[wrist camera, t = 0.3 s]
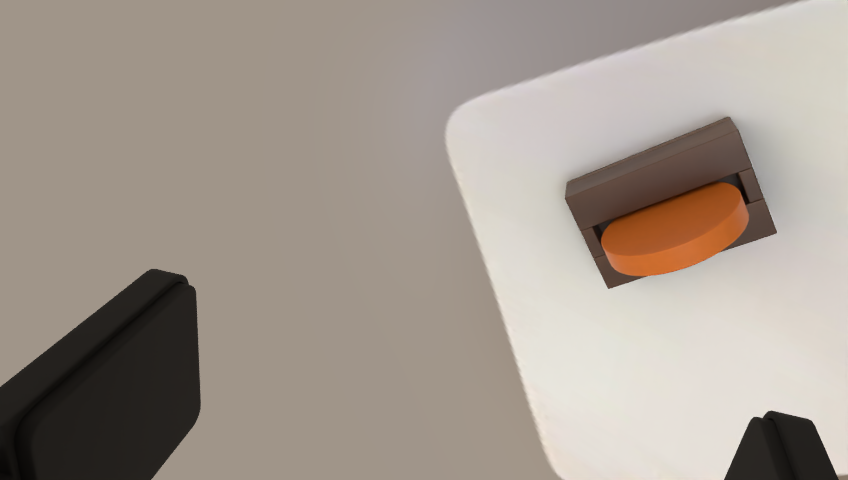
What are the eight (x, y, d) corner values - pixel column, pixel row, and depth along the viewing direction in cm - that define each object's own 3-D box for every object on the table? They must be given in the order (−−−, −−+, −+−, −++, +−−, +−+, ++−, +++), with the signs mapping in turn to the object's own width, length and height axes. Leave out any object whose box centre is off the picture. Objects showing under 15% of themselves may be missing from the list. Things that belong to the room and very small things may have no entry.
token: (600, 215, 38) (601, 272, 32) (726, 166, 35) (755, 219, 29) (608, 233, 38) (611, 292, 32) (734, 186, 36) (764, 242, 30)
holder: (566, 182, 38) (564, 198, 36) (729, 116, 35) (738, 129, 33) (607, 269, 40) (608, 289, 38) (766, 214, 36) (777, 233, 34)
